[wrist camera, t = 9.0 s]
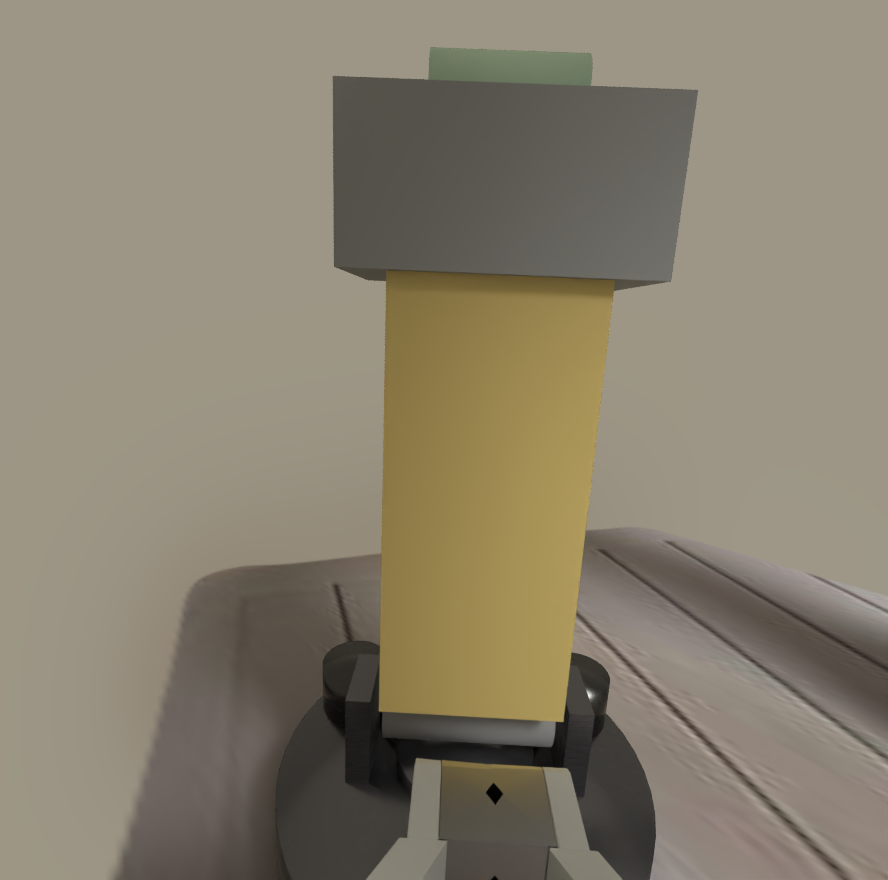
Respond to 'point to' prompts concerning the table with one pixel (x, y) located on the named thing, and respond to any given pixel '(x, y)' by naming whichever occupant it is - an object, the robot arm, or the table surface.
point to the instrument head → (495, 356)
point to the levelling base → (392, 766)
